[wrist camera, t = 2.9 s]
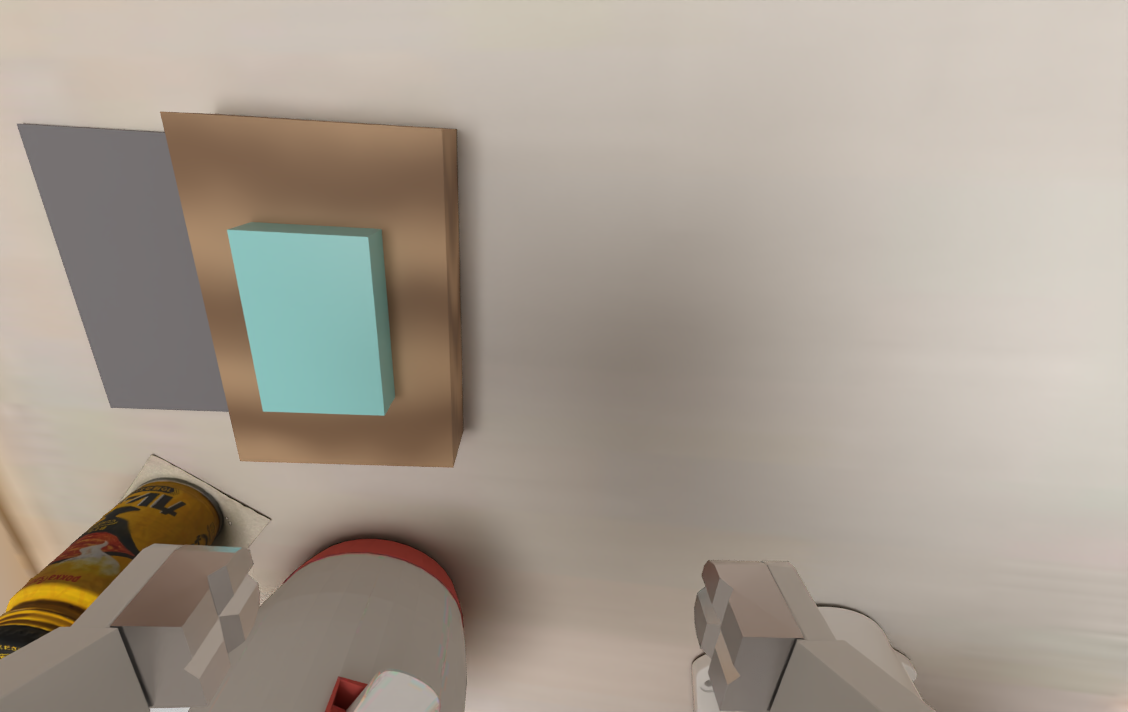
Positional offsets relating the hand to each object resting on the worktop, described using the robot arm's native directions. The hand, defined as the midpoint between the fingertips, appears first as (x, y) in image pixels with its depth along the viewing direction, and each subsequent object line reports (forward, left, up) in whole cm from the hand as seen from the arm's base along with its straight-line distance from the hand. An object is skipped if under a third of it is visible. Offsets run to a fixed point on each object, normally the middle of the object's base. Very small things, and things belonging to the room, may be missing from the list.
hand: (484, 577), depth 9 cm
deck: (-2, +10, -22) cm, 24 cm away
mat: (-2, +21, -22) cm, 30 cm away
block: (-2, +10, -18) cm, 21 cm away
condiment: (-19, +23, -22) cm, 37 cm away
